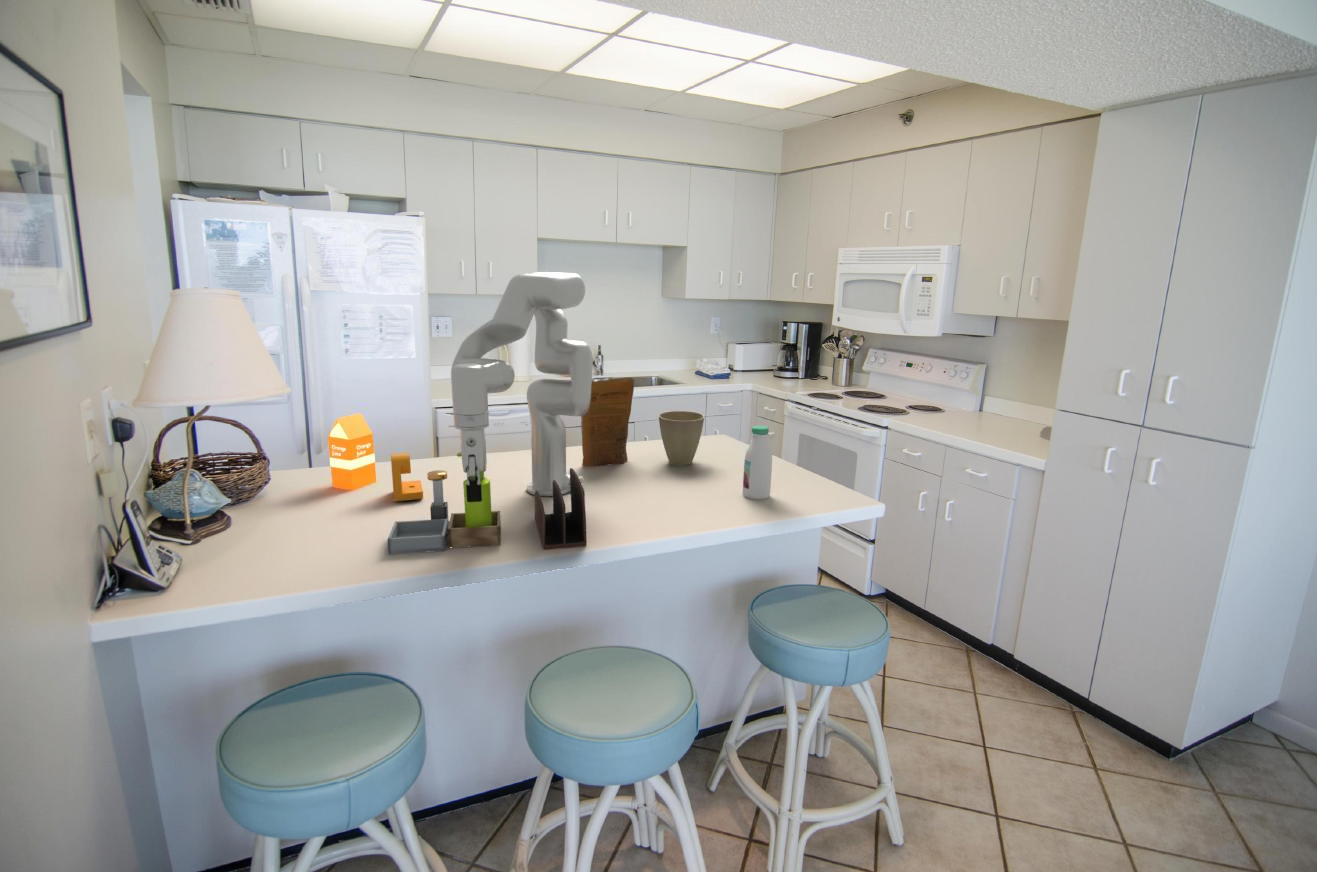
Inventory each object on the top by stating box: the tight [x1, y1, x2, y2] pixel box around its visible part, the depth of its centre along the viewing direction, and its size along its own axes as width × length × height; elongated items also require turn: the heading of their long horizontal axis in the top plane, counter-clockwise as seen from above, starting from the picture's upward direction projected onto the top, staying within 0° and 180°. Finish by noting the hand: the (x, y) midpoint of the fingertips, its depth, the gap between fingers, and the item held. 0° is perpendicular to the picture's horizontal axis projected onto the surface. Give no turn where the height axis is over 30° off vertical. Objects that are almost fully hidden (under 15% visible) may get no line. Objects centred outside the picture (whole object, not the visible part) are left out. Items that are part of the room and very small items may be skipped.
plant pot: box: [658, 410, 705, 467], centre depth 220 cm, size 15×15×16 cm
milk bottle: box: [742, 425, 773, 501], centre depth 188 cm, size 8×8×20 cm
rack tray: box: [387, 518, 449, 555], centre depth 152 cm, size 12×11×4 cm
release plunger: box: [426, 470, 448, 507], centre depth 159 cm, size 4×4×13 cm
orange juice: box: [327, 412, 377, 491], centre depth 189 cm, size 8×9×20 cm
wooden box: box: [447, 510, 502, 549], centre depth 155 cm, size 11×10×4 cm
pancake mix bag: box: [580, 377, 635, 468], centre depth 215 cm, size 7×19×28 cm, turn 120°
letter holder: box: [534, 467, 588, 550], centre depth 159 cm, size 10×20×14 cm, turn 16°
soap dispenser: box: [456, 451, 492, 527], centre depth 154 cm, size 6×7×20 cm
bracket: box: [390, 453, 424, 502], centre depth 181 cm, size 11×7×12 cm, turn 22°
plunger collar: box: [429, 501, 450, 527], centre depth 160 cm, size 5×5×6 cm
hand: (475, 495), depth 154 cm, fingers closed on soap dispenser, 5 cm apart
